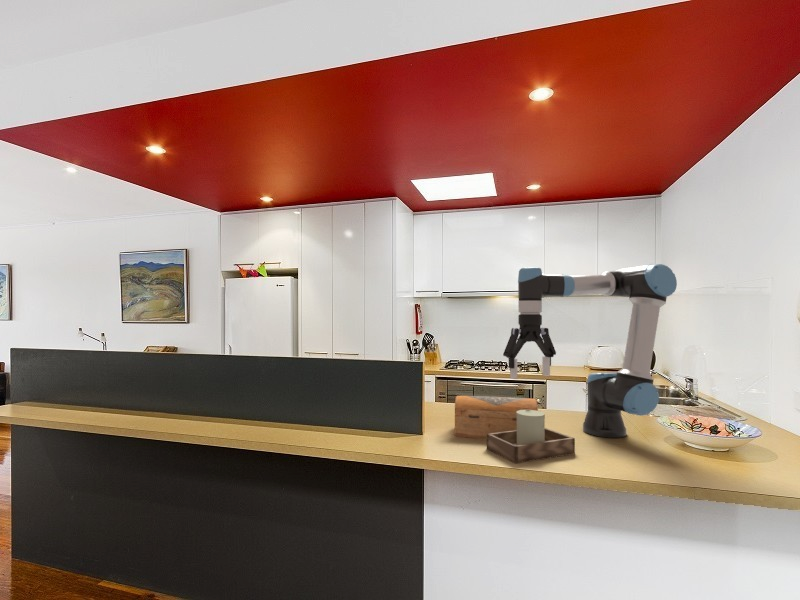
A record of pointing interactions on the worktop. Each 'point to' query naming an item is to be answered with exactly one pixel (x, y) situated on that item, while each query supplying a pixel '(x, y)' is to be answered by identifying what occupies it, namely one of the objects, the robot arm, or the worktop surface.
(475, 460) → the worktop surface
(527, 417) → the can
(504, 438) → the crate
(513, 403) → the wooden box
